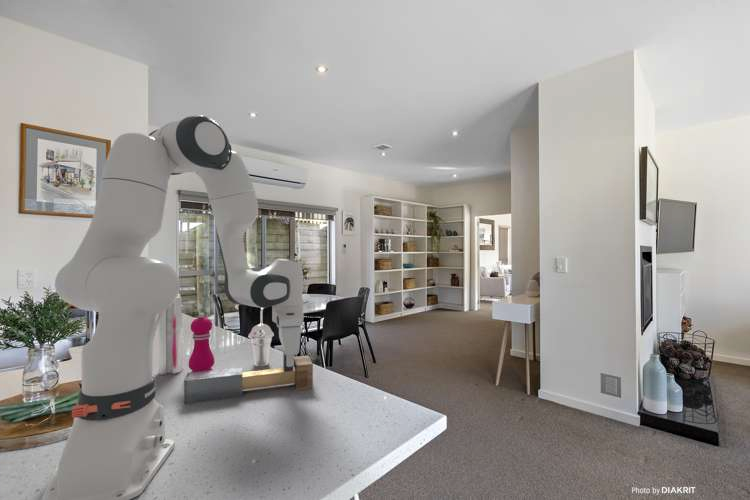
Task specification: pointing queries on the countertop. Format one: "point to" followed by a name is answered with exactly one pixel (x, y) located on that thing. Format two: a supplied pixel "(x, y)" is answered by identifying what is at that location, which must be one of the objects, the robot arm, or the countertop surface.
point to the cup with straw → (261, 342)
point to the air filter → (171, 339)
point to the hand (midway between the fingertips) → (288, 361)
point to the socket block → (303, 372)
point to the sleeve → (212, 385)
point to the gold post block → (269, 377)
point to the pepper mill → (201, 345)
